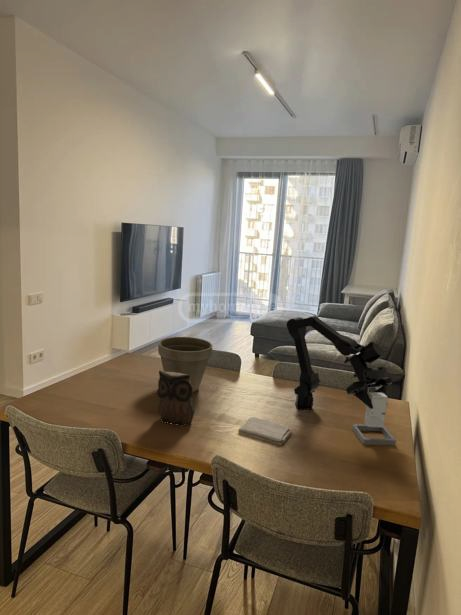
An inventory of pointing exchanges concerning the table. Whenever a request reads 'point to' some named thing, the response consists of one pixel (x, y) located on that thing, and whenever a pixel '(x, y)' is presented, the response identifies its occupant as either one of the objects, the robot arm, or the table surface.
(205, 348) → the plant pot
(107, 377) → the table surface
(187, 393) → the owl
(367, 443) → the socket
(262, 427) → the washcloth
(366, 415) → the skincare box
